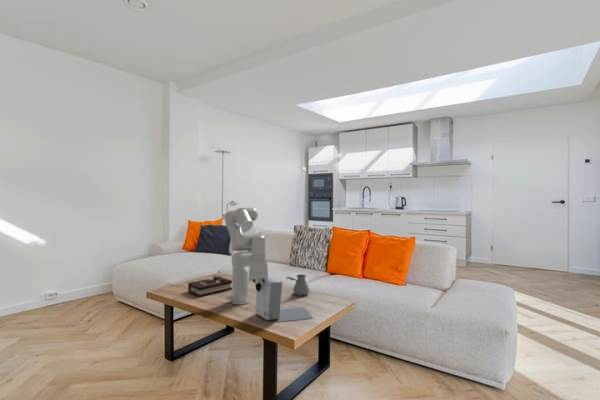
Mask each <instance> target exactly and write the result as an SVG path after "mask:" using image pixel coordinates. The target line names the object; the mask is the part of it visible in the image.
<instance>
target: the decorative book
mask: <svg viewBox="0 0 600 400" xmlns="http://www.w3.org/2000/svg"><path fill="white" fill-rule="evenodd" d="M187 284H188V285H187V287H188V288H187V290H188V291H187V292H188V293H190V294H192V295H194V296H196V297H198V298H202V297H207V296H212V295H215V294H219V293H224V292H227V291H233V287H231V286H232V284H233V280H230V279H228V278H225V277H222V276H217V275H214V276H213V277H211V278H208V279H201V280H197V281H192V282H188V283H187Z"/></svg>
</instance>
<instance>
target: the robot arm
mask: <svg viewBox="0 0 600 400" xmlns="http://www.w3.org/2000/svg"><path fill="white" fill-rule="evenodd" d="M257 218H258V211H257V208H254V207H238V208H237V209H235V210H229V211H227V212H226V213H225V214H224V224H225V225H226V228H227V230H228V232H229V238H230V244H231V245H230V246H231V249H232V251H233V252H235V253H233V254H232V256H231V266H232V294H231V295H226V296H225V300H228V301H229V300H230V301H229V302H230V303H231V304H233V305H239V306H241V305H246V304H248V303H250V302H251V298H250V297H249V281H250V282H253V283H254V284H255V290H256V292H257V291H260V289H261V284H262V282H263V281H264V280H268V278H269V267H268V261H267V259H266V236H264V235H263V234H261V233H248V231H250V230H252V229H253V227H254V222H255V221H256V220H258V219H257ZM245 268H249V269H248V271H247V270H246V269H245ZM258 279H259V283H258Z"/></svg>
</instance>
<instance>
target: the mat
mask: <svg viewBox="0 0 600 400" xmlns="http://www.w3.org/2000/svg"><path fill="white" fill-rule="evenodd" d="M311 319H313V320H314V317H313V316H312V315H311V313H310V312H309V311H308V310H307V309H306V307H305V306H301V307H300V306H299V307H291V308H290V307H289V308H280V316H279V319H275V320H276V322H277V323H285V322H291V321H294V322H295V321H303V320H311Z"/></svg>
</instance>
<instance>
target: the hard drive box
mask: <svg viewBox="0 0 600 400" xmlns="http://www.w3.org/2000/svg"><path fill="white" fill-rule="evenodd" d="M257 282H258V283H259V279H257ZM282 290H283V282H282V281H280V280H277V279H274V278H271V277H268V280H264V281H263V282H262V284H261V289H260V291H257V290H256V296H255V298H256V300H255V311H254V313H255V314H256V315H258V316H260V317H261V318H263V319H265V320H267V321H271V320H272V321H273V320H276V319H279V316H280V309H281V302H282V301H281V300H282Z"/></svg>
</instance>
